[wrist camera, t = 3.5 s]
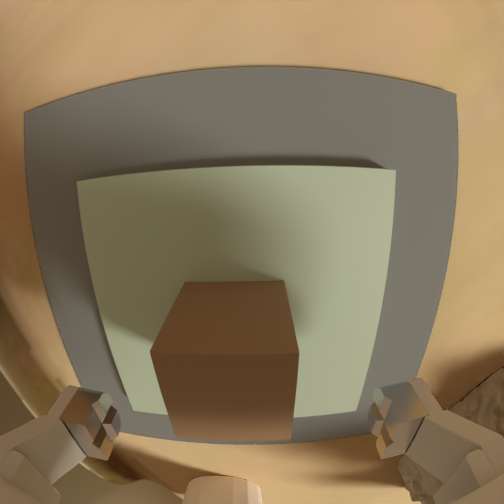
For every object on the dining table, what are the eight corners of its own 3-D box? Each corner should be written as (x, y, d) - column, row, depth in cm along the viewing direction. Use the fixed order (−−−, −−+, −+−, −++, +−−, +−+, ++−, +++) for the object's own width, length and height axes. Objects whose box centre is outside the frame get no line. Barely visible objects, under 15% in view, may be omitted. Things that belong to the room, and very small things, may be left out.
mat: (29, 113, 9) (24, 112, 9) (450, 94, 9) (455, 93, 8) (105, 423, 15) (103, 428, 14) (392, 423, 14) (394, 428, 14)
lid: (87, 179, 10) (-2, 201, 5) (386, 168, 10) (470, 184, 5) (137, 400, 13) (109, 471, 9) (352, 399, 13) (376, 475, 8)
